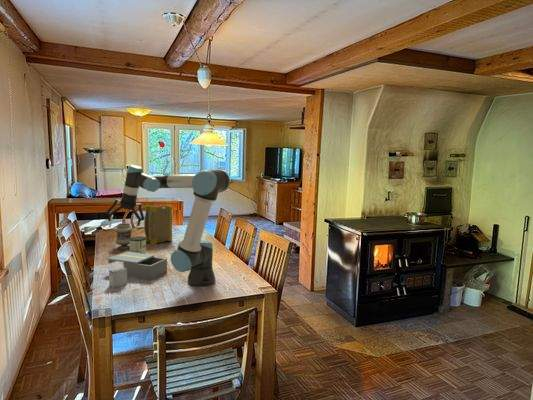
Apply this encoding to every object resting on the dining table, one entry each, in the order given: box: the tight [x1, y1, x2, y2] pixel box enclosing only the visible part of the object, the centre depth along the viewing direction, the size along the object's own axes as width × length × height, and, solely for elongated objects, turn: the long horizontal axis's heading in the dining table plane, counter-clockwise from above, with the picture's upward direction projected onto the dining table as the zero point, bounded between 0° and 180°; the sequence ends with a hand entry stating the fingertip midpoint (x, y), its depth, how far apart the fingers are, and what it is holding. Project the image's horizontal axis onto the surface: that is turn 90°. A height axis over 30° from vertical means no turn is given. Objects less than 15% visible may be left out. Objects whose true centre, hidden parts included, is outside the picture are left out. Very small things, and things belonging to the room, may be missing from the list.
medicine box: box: [108, 266, 128, 288], centre depth 189 cm, size 8×4×9 cm, turn 141°
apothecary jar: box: [114, 222, 133, 250], centre depth 264 cm, size 12×12×18 cm
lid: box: [107, 251, 155, 264], centre depth 210 cm, size 20×16×3 cm
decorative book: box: [143, 204, 173, 246], centre depth 284 cm, size 20×11×30 cm, turn 136°
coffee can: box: [129, 235, 147, 254], centre depth 238 cm, size 10×10×14 cm
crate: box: [123, 256, 168, 281], centre depth 208 cm, size 18×16×8 cm
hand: (122, 228), depth 201 cm, fingers open, 13 cm apart
